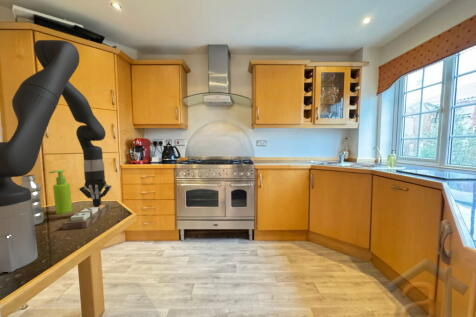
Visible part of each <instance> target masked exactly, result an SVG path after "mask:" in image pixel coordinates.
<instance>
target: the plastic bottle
mask: <svg viewBox="0 0 476 317" xmlns="http://www.w3.org/2000/svg"><path fill="white" fill-rule="evenodd" d="M20 177H21V179H20V180H21V182H22V183H20V186H22V187H25V188H28V189H29V190H30V192H31V199H32V207H33V217H34V226H36V225H39V224H42V223H43V221H44V220H45V213H44V211H43V207H42V204H41V203H42V202H41V193H42V192H41V191H42V190H41V189H42V187H41V186H40V184H39V183H38V182H36V176H35V174H29V175H28V174H26V175H24V176H20Z"/></svg>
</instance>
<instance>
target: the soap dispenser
mask: <svg viewBox="0 0 476 317" xmlns="http://www.w3.org/2000/svg"><path fill="white" fill-rule="evenodd" d="M65 171H66V170H64V169H57V170H51V171H49V174H54V173H57V177H56V178H55V182H56V184H54V185H53V186H52V188H53V190H52V191H53V198H54V206H55V214H56V215H63V214H68V213H71V212H72V211H73V205H72V204H73V203H72V194H71V184H70V182H69V183H67V177H66V176H64V172H65Z"/></svg>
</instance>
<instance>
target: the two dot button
mask: <svg viewBox="0 0 476 317" xmlns="http://www.w3.org/2000/svg"><path fill="white" fill-rule="evenodd" d="M88 217H90V212H87V213H81V212H77V213H75V214H74V215H72V216H70V219H71V221H82V220H85V219H87V218H88Z"/></svg>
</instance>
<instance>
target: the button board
mask: <svg viewBox="0 0 476 317" xmlns="http://www.w3.org/2000/svg"><path fill="white" fill-rule="evenodd" d="M104 205H105V207H103V208H102V209H98V211H97V212H96V213H94V214H90V217H88V218H87V219H85V220H82V221H71V218H69V219H68V220H66V221H64V222H62V229H63V230H74V229H87V228H89V226H91V225H92V224H94V223H95V222H96V221H97V220H99V219H100V218H101V217H103V216H104V215H106V214H107V213H108V212H110V211H111V210H112V205H111V204H104ZM91 207H93V204H92V205H91V206H88V208H91Z"/></svg>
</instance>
